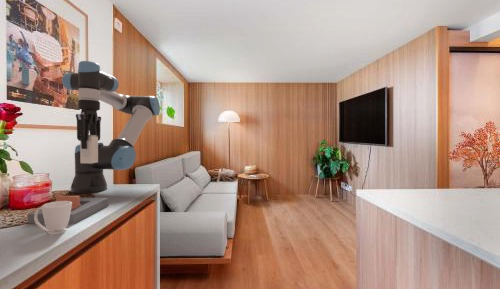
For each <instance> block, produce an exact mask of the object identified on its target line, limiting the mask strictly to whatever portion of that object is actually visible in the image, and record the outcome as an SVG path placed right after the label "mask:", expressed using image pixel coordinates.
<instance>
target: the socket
mask: <svg viewBox="0 0 500 289" xmlns="http://www.w3.org/2000/svg"><path fill="white" fill-rule="evenodd" d="M80 204H81V206H79V207H77V208H75V209H73V210H71V212H70V218H69V222H68V225H73V224H76V223H78V222H80V221H82V220H84V219H86V218H88V217H89V216H91V215H93V214H95V213H97V212H99V211H101V210H103V209H105V208H106V207H108V206H109V197H80ZM35 211H36V210H34V211H32V212H30V213H27V217H26V218H27V224H36V223H35V220H34V215H35ZM37 218H38V221H39V223H40V224H41V225H45V222H44V217H43V212H42V209H40V210H39V211H38V216H37ZM36 225H37V224H36Z"/></svg>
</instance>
